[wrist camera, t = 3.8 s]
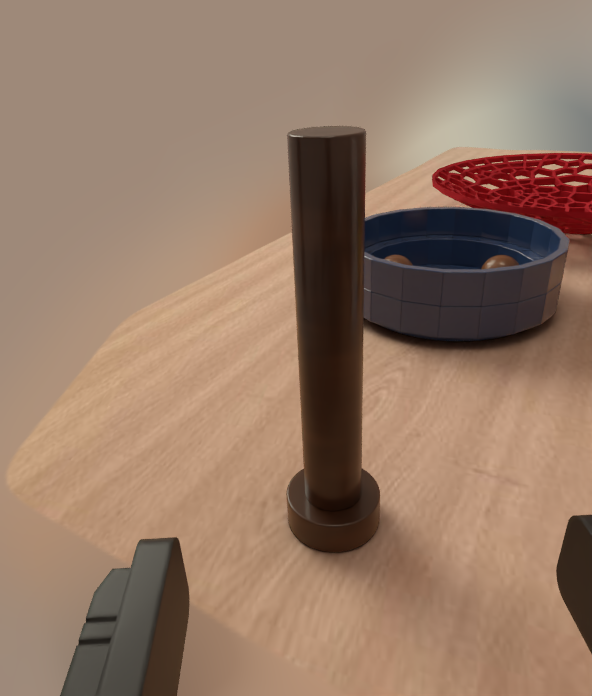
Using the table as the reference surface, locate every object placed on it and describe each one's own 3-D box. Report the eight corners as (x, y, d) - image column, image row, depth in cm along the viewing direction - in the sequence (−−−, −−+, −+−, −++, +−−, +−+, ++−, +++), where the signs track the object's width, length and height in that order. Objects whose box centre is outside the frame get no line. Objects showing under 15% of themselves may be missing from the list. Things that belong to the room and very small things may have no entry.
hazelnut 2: (481, 300, 42) (485, 262, 41) (475, 285, 45) (479, 249, 44) (522, 300, 42) (528, 262, 40) (514, 285, 45) (519, 249, 43)
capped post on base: (281, 549, 23) (248, 142, 16) (295, 483, 27) (273, 124, 19) (378, 556, 22) (393, 138, 15) (379, 488, 26) (391, 120, 18)
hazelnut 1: (375, 298, 43) (376, 262, 42) (375, 284, 46) (376, 249, 45) (414, 299, 43) (416, 262, 42) (412, 284, 46) (414, 249, 44)
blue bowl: (335, 346, 38) (334, 271, 36) (348, 265, 53) (348, 207, 50) (584, 352, 36) (602, 273, 34) (528, 266, 50) (537, 205, 48)
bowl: (392, 248, 57) (394, 198, 54) (463, 186, 79) (467, 149, 77) (749, 290, 44) (772, 227, 41) (713, 202, 66) (727, 158, 64)
